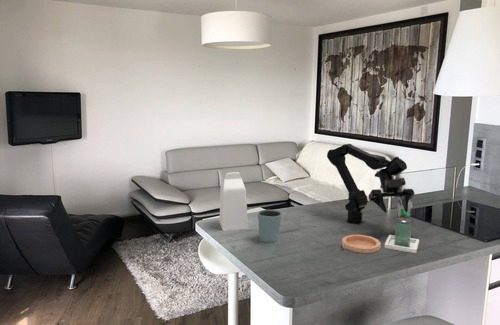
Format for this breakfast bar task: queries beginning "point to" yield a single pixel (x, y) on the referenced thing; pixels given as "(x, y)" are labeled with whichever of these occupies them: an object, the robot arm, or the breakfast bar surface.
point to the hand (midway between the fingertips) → (396, 212)
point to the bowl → (361, 243)
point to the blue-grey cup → (269, 225)
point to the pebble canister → (402, 232)
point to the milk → (233, 203)
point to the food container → (401, 210)
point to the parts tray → (412, 248)
